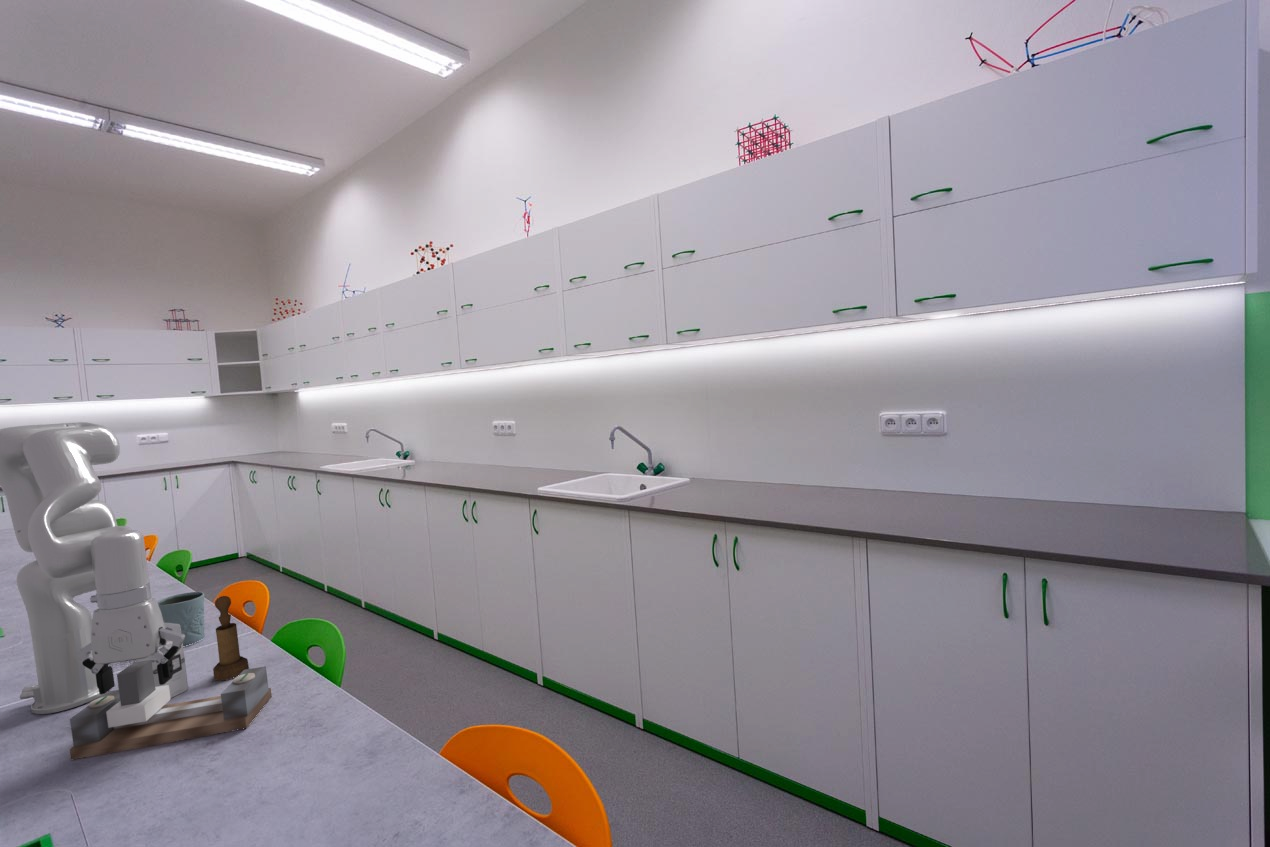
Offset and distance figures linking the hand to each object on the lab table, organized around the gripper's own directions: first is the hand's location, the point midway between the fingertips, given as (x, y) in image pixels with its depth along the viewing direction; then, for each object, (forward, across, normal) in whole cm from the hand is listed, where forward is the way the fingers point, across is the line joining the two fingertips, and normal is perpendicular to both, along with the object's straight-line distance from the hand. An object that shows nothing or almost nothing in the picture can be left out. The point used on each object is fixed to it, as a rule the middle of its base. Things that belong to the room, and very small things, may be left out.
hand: (137, 685), depth 111 cm
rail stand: (+9, +6, 0) cm, 11 cm away
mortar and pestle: (+9, +6, +22) cm, 25 cm away
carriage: (+5, 0, 0) cm, 5 cm away
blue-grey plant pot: (+9, -16, +49) cm, 52 cm away
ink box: (+9, -5, +17) cm, 20 cm away
